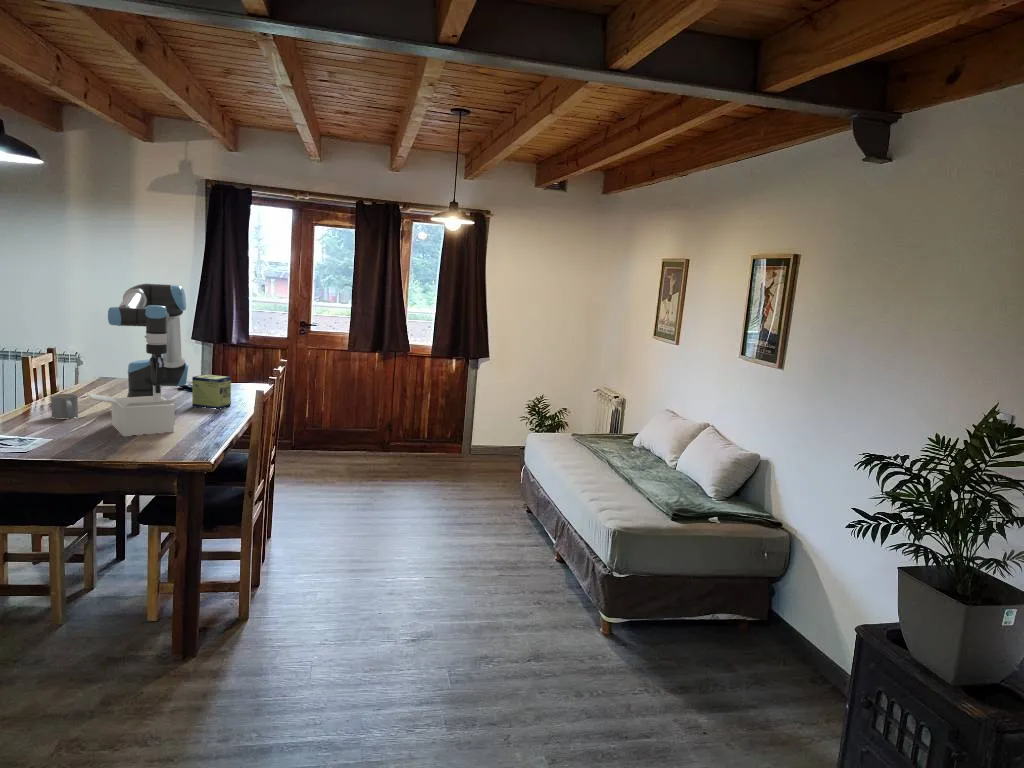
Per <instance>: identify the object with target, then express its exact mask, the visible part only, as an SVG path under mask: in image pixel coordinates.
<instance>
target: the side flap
mask: <svg viewBox="0 0 1024 768" xmlns="http://www.w3.org/2000/svg"><path fill="white" fill-rule="evenodd" d="M86 395H87V396H88V397H89V398H90V399H92V401H96V402H97V401H99V402H104V403H109V404H110V403H118V402H117V401H115V400H114V399H113V398H114V397H112V396H107V395H101V394H94V393H87V394H86Z"/></svg>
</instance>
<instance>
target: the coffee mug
mask: <svg viewBox="0 0 1024 768" xmlns="http://www.w3.org/2000/svg"><path fill="white" fill-rule="evenodd" d="M78 399H79V398H78V394H77V393H76V394H75V393H56V394H52V395H50V404H51V409H50V410H51V418H52V417H54V418H74V417H77V418H78V417H79V404H78V403H79V401H78ZM74 419H75V418H74Z"/></svg>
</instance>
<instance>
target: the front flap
mask: <svg viewBox="0 0 1024 768" xmlns="http://www.w3.org/2000/svg"><path fill="white" fill-rule="evenodd" d="M174 402H177V399H176V398H175V399H167V400H156V401H139V402H130V403H128V404H127V405H126V406H142V405H158V404H171V403H173V404H174Z"/></svg>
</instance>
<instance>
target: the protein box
mask: <svg viewBox="0 0 1024 768" xmlns="http://www.w3.org/2000/svg"><path fill="white" fill-rule="evenodd" d="M191 380H192V383H191V385H192V391H191V392H192V394H191V395H192V396H191V397H192V402H191V403H192V406H191V407H193V406H196V407H195V408H201V407H206V408H205V409H209V408H216V409H215V410H217V409H219V410H221V409H220V408H222V409H225V408H224V407H226V408H228V407H227V406H230V405H231V406H232V400H231V399H232V377H231V376H224V375H223V376H222V375H214V374H202V375H196V376H192V379H191ZM231 406H230V407H231Z"/></svg>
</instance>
